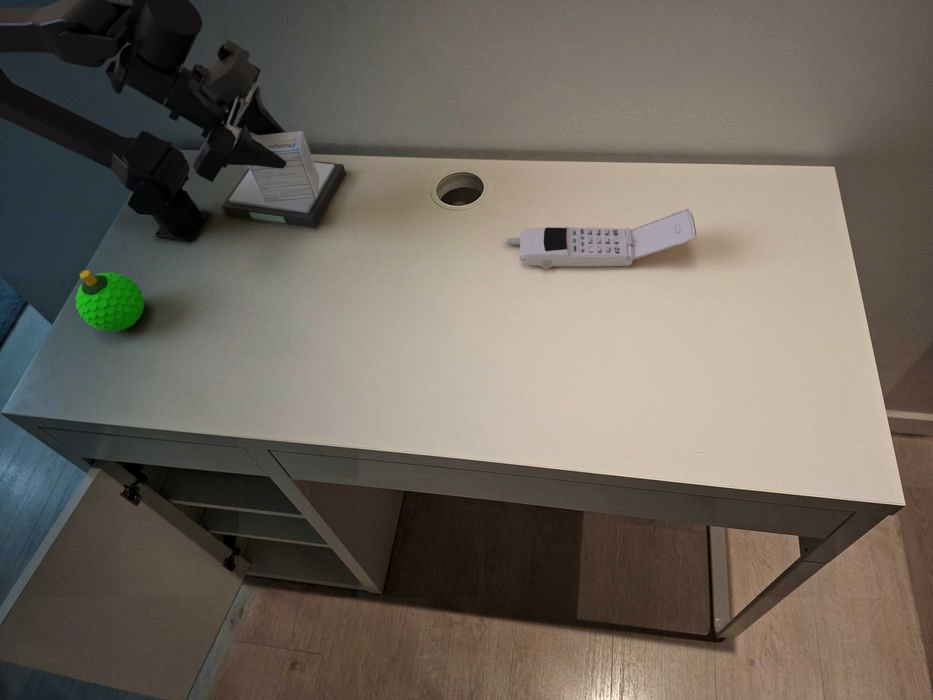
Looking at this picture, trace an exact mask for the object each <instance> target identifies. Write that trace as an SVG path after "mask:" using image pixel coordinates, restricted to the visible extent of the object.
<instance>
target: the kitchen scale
mask: <svg viewBox="0 0 933 700" xmlns="http://www.w3.org/2000/svg"><path fill="white" fill-rule="evenodd" d="M313 161H314V164H315V167H316V169H317V172H318V175H319V178H320V180H319V190H318V198H308V199H299V200H289V201H280V202H270V203H265V201H264V199H263V197H262V195H261V193H260V190H259V188H258V186H257V184H256V182H255V180H254V178H253V175H252V173H251V171H250V169H249V167H248V168H247V170H246V171H245V172H244V173H243V175H242V177H241V178H240V179H239V181H238V182H237V184H236V185H235V186H234V188H233V189H232V191H231V192H230V194H229V195H228V196H227V198H226V199H225V201H224V202H223V203H222V205H221V208H222V210H223V212H224V213H225V215H226V216H229V217H234V218H242V219H249V220H257V221H262V222H270V223H276V224H277V223H278V224H283V225H290V226H298V227H304V228H305V227H306V228H312V229H316V228H317V226H318V224H319V223H320V221H321V219H322V217H323V215H324V214H325V212H326V210H327V209H328V207H329V205H330V203H331V201H332V200H333V198H334V196H335V194H336V193H337V191H338V189H339V187H340V186H341V184H342V182H343V181H344V179H345V177H346V176H347V171H346V169H345V165H344V163H335V162H328V161H319V160H313Z"/></svg>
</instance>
